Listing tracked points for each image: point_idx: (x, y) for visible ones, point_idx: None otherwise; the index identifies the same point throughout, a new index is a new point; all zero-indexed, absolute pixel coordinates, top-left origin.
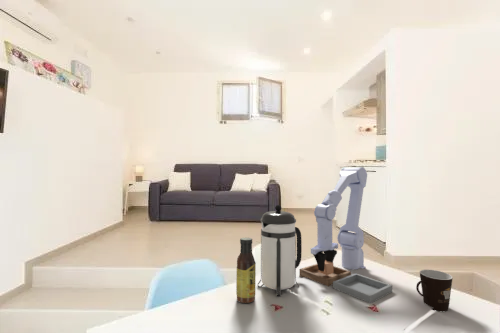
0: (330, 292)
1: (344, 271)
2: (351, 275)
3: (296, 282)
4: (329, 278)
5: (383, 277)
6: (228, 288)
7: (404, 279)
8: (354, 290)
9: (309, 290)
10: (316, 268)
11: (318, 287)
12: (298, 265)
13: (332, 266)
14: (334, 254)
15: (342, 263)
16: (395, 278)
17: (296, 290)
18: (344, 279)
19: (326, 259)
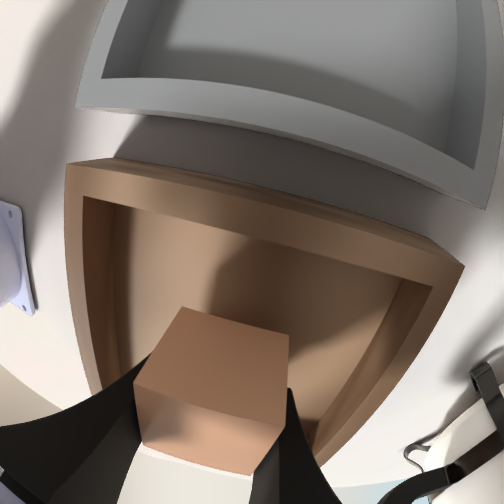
0: None
1: (88, 226)
2: (156, 96)
3: (491, 391)
4: (425, 272)
5: (7, 59)
6: None
7: (7, 8)
8: (498, 15)
9: (487, 317)
10: None
11: None
12: (397, 489)
13: (171, 358)
14: (49, 453)
15: (6, 299)
16: (5, 28)
17: (494, 358)
18: (347, 113)
19: (133, 444)
